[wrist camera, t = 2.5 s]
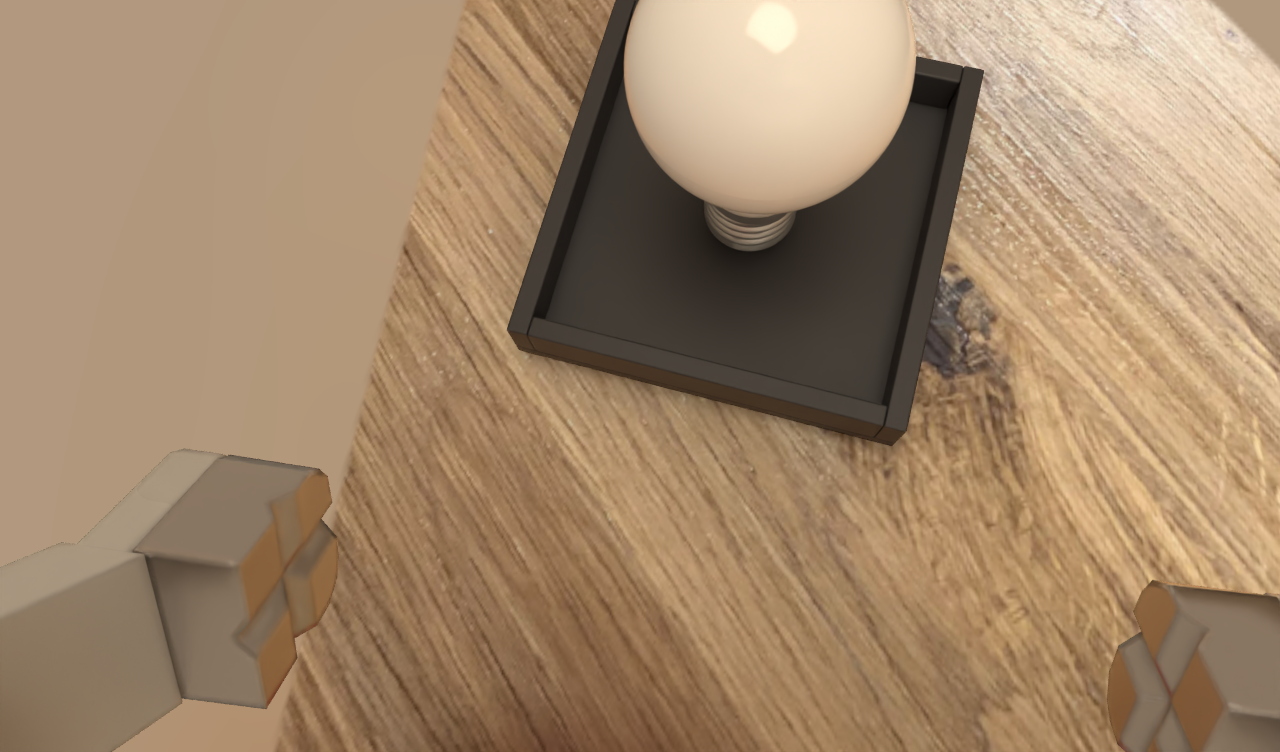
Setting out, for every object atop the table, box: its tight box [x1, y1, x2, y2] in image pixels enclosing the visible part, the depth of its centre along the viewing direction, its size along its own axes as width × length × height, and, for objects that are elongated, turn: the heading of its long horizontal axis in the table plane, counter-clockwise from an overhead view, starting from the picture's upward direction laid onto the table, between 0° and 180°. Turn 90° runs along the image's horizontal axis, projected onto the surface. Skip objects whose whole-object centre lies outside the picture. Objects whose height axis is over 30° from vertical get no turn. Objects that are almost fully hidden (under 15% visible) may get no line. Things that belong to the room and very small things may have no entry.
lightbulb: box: [624, 0, 916, 251], centre depth 24 cm, size 6×6×11 cm
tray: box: [507, 0, 984, 446], centre depth 28 cm, size 11×11×2 cm
